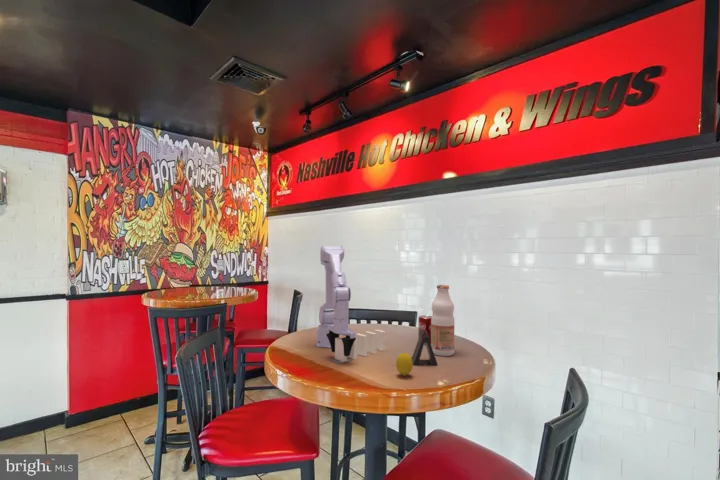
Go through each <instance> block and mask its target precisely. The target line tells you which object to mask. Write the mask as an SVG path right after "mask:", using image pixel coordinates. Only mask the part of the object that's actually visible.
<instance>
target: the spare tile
mask: <svg viewBox="0 0 720 480" xmlns="http://www.w3.org/2000/svg"><path fill="white" fill-rule="evenodd" d="M341 338H342V337H340V336H339V337H337V338H335V352H334V358H335V359H337V360H340V361H342V362H345V361H347V359H348V357H347V356H344V346H343V342H342V339H341ZM345 363H346V362H345Z"/></svg>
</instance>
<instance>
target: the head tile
mask: <svg viewBox="0 0 720 480" xmlns="http://www.w3.org/2000/svg"><path fill="white" fill-rule="evenodd" d="M373 333H376V334H377V339H376V351H381V352H385V351H386V331H384V330H381V329H374V332H373Z"/></svg>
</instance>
